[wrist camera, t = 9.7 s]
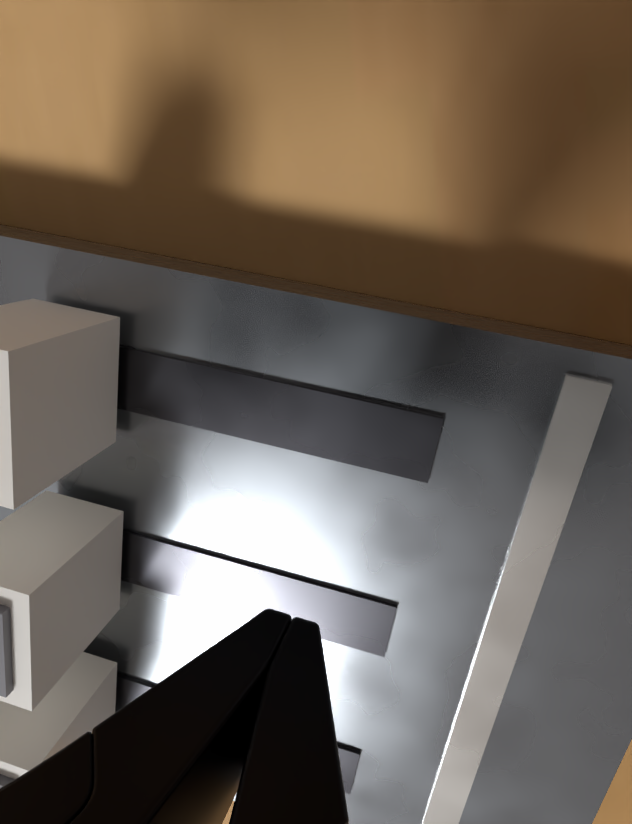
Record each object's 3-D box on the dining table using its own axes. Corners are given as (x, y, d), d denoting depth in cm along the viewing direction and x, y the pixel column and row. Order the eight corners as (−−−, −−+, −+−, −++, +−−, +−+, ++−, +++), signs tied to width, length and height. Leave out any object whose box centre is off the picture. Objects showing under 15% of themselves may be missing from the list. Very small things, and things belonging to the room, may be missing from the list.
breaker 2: (123, 511, 13) (21, 602, 10) (119, 609, 14) (25, 719, 11) (46, 490, 14) (-76, 572, 11) (47, 587, 15) (-64, 689, 12)
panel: (753, 369, 11) (798, 392, 10) (542, 851, 16) (551, 915, 15) (-55, 214, 14) (-116, 213, 13) (-25, 662, 19) (-65, 700, 18)
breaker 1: (120, 317, 12) (-2, 354, 9) (115, 441, 13) (4, 515, 10) (32, 298, 12) (-114, 327, 9) (35, 421, 13) (-97, 486, 10)
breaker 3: (117, 662, 15) (26, 781, 12) (113, 741, 16) (29, 870, 13) (48, 640, 15) (-58, 750, 12) (49, 719, 16) (-49, 839, 13)
